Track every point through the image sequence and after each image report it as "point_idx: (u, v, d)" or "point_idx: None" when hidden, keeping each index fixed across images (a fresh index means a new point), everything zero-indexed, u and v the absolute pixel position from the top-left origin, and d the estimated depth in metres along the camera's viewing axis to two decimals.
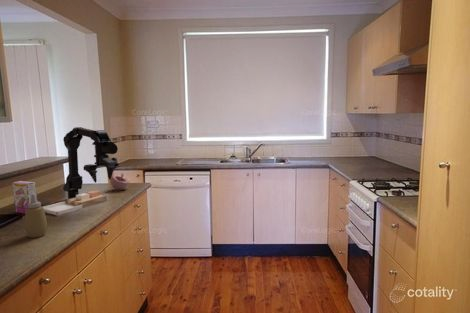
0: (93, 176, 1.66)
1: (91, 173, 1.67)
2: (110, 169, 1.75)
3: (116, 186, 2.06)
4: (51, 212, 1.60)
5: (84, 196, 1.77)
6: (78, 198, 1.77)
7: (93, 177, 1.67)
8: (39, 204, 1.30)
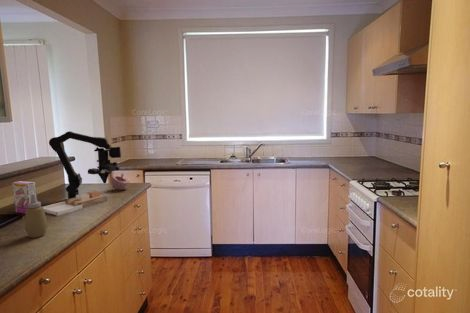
0: (102, 177, 1.89)
1: (101, 175, 1.90)
2: None
3: (116, 186, 2.06)
4: (51, 212, 1.60)
5: (84, 196, 1.77)
6: (78, 198, 1.77)
7: (102, 178, 1.90)
8: (39, 204, 1.30)
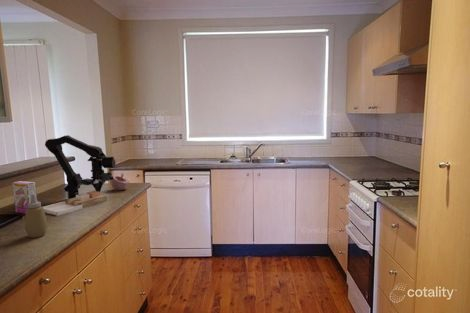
0: (96, 188, 1.86)
1: (94, 185, 1.86)
2: None
3: (116, 186, 2.06)
4: (51, 212, 1.60)
5: (84, 196, 1.77)
6: (78, 198, 1.77)
7: (96, 189, 1.86)
8: (39, 204, 1.30)
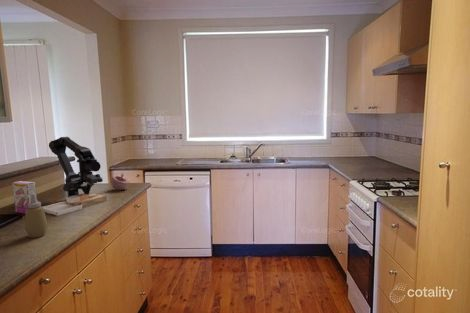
0: (84, 190, 1.79)
1: (82, 188, 1.79)
2: None
3: (116, 186, 2.06)
4: (51, 212, 1.60)
5: (75, 198, 1.72)
6: (68, 201, 1.71)
7: (84, 191, 1.79)
8: (39, 204, 1.30)
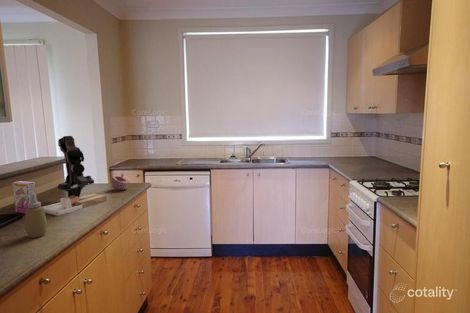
0: (75, 192, 1.74)
1: (73, 190, 1.74)
2: None
3: (116, 186, 2.06)
4: (51, 212, 1.60)
5: (67, 204, 1.68)
6: None
7: (75, 193, 1.74)
8: (39, 204, 1.30)
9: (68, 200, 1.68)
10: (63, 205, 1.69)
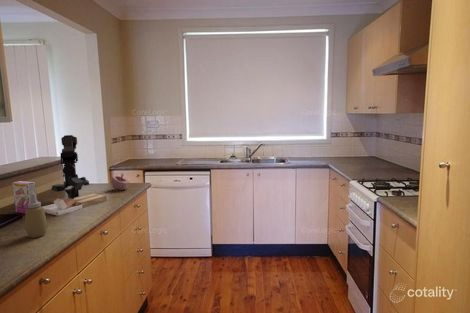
0: (69, 194, 1.71)
1: (67, 191, 1.71)
2: (73, 190, 1.72)
3: (116, 186, 2.06)
4: (51, 212, 1.60)
5: (62, 206, 1.66)
6: None
7: (69, 195, 1.72)
8: (39, 204, 1.30)
9: (61, 201, 1.65)
10: (58, 206, 1.67)
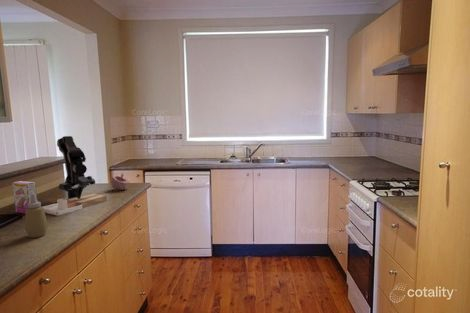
0: (76, 193, 1.75)
1: (74, 190, 1.75)
2: None
3: (116, 186, 2.06)
4: (51, 212, 1.60)
5: (64, 205, 1.66)
6: None
7: (76, 194, 1.75)
8: (39, 204, 1.30)
9: (65, 201, 1.67)
10: (59, 206, 1.67)
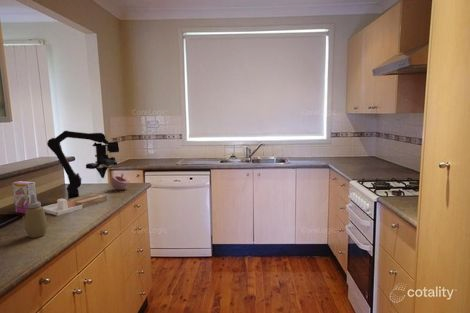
0: (100, 172, 1.91)
1: (99, 170, 1.92)
2: None
3: (116, 186, 2.06)
4: (51, 212, 1.60)
5: (64, 205, 1.66)
6: None
7: (100, 173, 1.92)
8: (39, 204, 1.30)
9: (65, 201, 1.67)
10: (59, 206, 1.67)
